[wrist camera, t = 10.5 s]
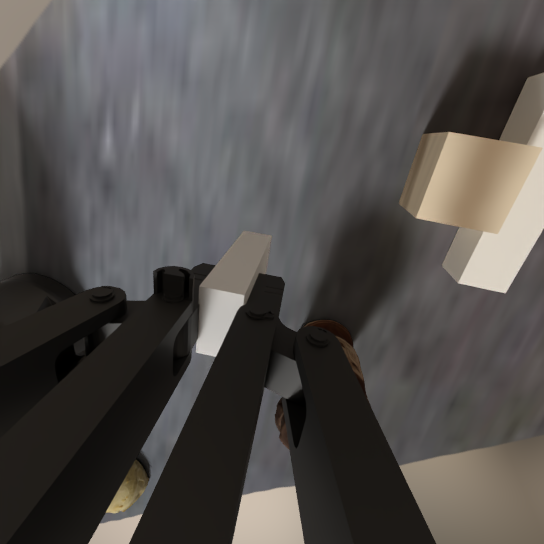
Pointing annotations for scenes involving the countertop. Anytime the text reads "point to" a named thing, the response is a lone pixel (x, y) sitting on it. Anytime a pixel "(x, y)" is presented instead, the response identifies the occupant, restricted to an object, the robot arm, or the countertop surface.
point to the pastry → (130, 488)
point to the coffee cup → (352, 357)
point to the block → (466, 180)
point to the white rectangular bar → (522, 217)
